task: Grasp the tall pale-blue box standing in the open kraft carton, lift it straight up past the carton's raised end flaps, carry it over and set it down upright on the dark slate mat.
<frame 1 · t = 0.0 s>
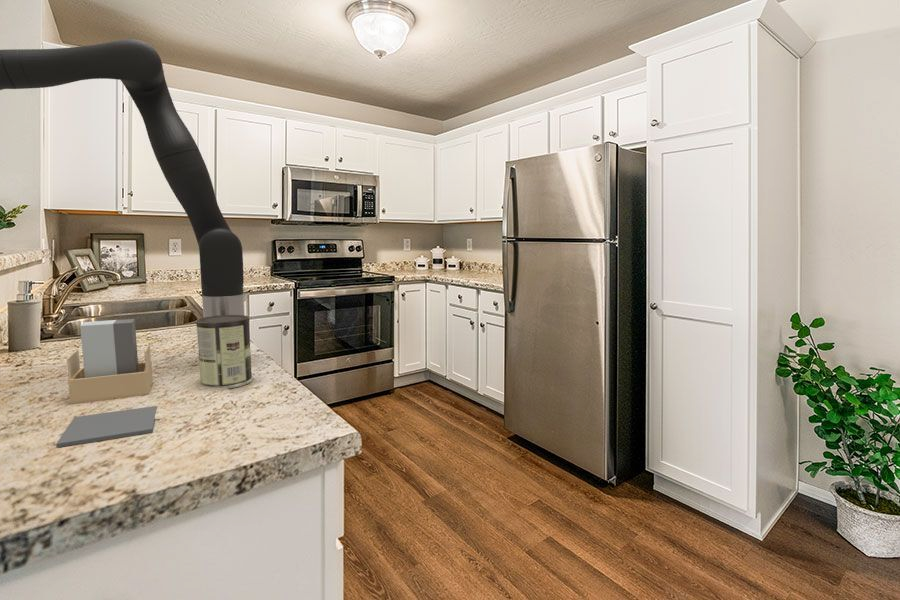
coffee can: (226, 383, 101), on the table
mat: (112, 426, 77), on the table
carton: (114, 394, 93), on the table
box: (114, 391, 93), point 1 cm above the table, touching carton
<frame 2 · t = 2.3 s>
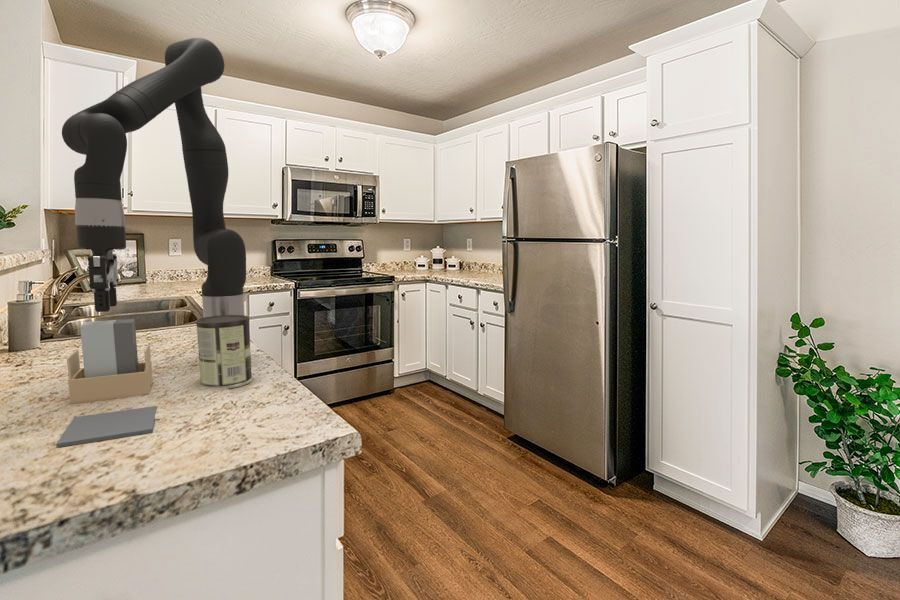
hand: (106, 308, 91), 17 cm above the table, tool pointing down, fingers open, 8 cm apart
nothing on the table moved.
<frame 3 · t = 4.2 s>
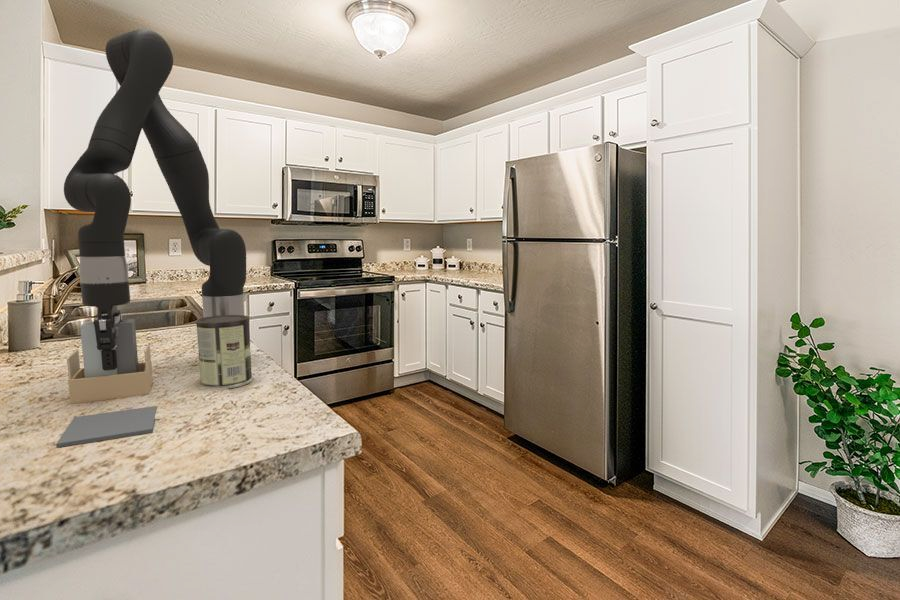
hand: (112, 365, 92), 6 cm above the table, tool pointing down, fingers closed on box, 5 cm apart
box: (114, 391, 93), point 1 cm above the table, touching carton, gripper
everything else where it was.
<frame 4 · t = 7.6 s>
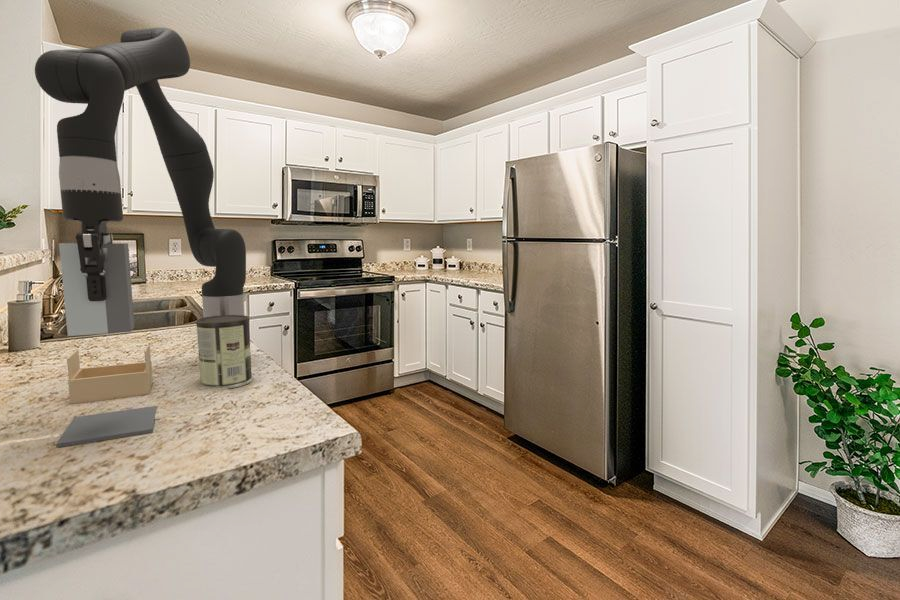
hand: (101, 298, 75), 21 cm above the table, tool pointing down, fingers closed on box, 5 cm apart
box: (102, 331, 75), point 16 cm above the table, touching gripper
everything else where it was.
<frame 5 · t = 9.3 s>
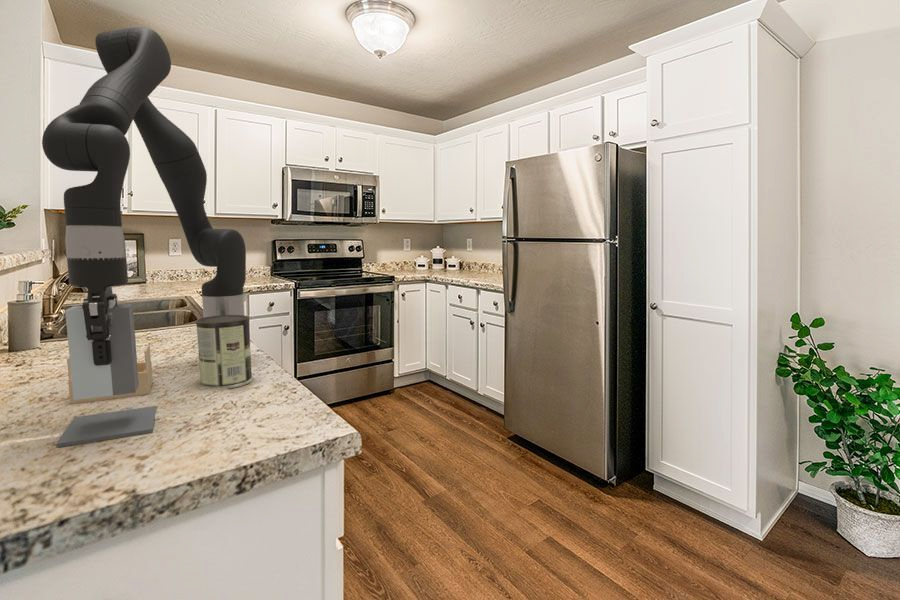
hand: (106, 360, 76), 11 cm above the table, tool pointing down, fingers closed on box, 5 cm apart
box: (107, 391, 76), point 6 cm above the table, touching gripper
everything else where it was.
when the fingers open (8 cm above the table, at t = 10.8 s): box drops 2 cm, resting on mat.
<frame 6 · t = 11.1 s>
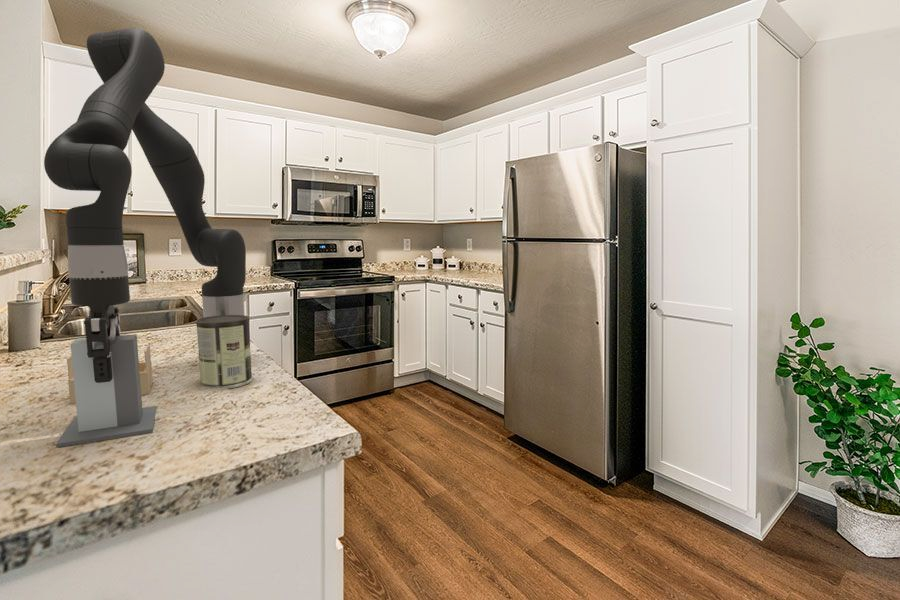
hand: (108, 375, 76), 9 cm above the table, tool pointing down, fingers open, 7 cm apart
box: (112, 422, 77), point 1 cm above the table, touching mat
everything else where it was.
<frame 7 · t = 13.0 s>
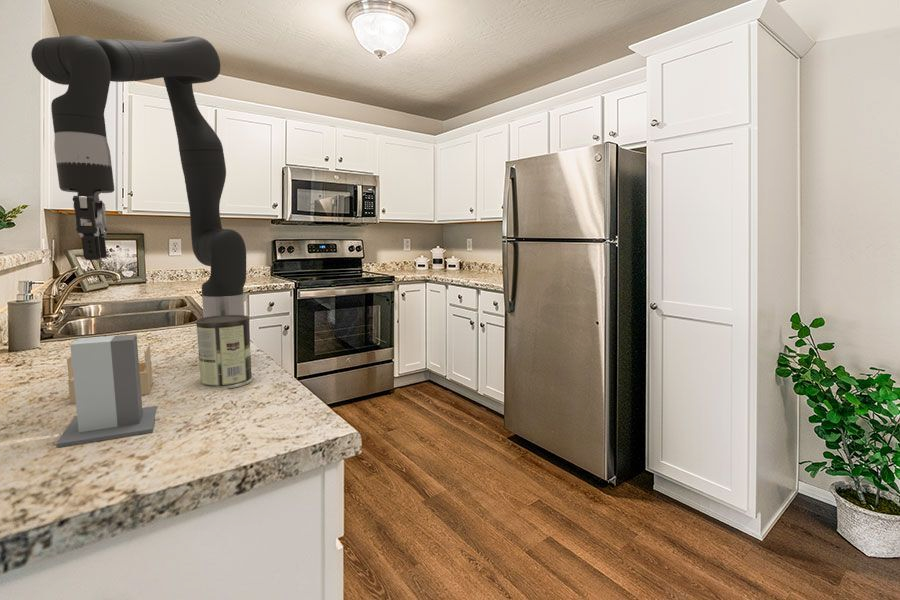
hand: (96, 258, 82), 27 cm above the table, tool pointing down, fingers open, 8 cm apart
nothing on the table moved.
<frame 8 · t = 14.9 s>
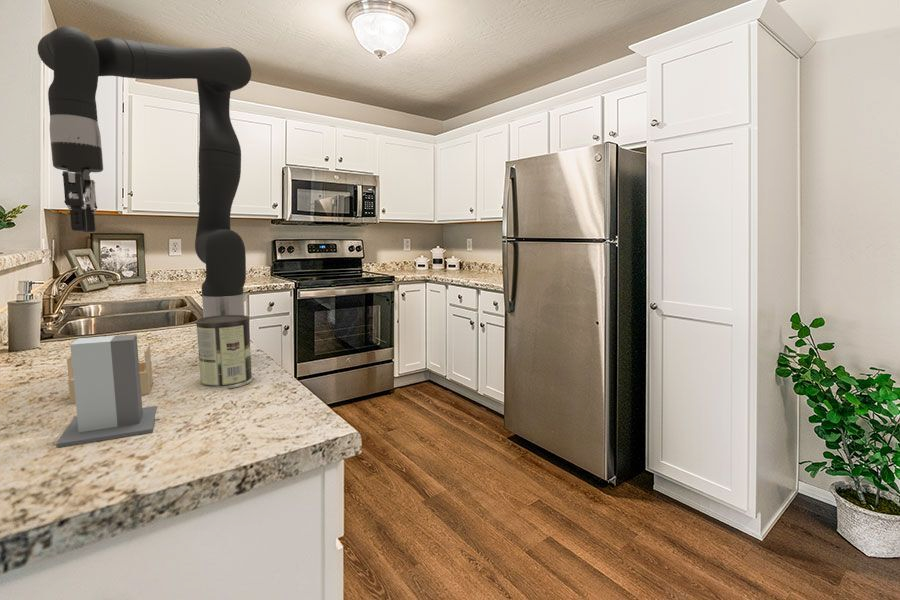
hand: (84, 231, 90), 32 cm above the table, tool pointing down, fingers open, 8 cm apart
nothing on the table moved.
at the end: box inside the target area on the mat (0.2 cm from its centre), point 0.6 cm above the mat's base; box tilted 0°; the gripper is holding nothing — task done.
